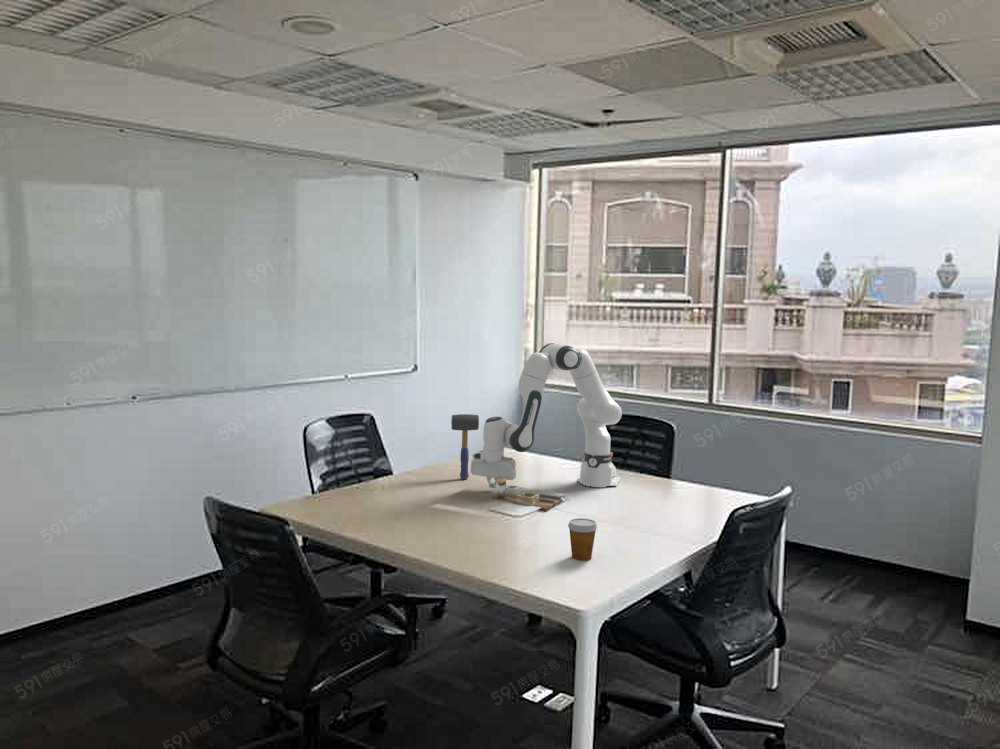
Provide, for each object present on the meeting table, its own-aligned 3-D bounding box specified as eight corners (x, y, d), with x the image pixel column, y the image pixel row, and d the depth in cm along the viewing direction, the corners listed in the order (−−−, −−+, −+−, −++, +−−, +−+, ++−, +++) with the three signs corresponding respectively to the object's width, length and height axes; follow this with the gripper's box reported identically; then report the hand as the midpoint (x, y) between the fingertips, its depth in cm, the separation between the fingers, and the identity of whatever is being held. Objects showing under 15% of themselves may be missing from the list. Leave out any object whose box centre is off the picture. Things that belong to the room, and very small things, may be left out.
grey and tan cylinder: (499, 496, 330) (499, 476, 330) (507, 497, 329) (507, 477, 328) (495, 498, 327) (495, 478, 326) (503, 499, 326) (503, 479, 325)
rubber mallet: (477, 477, 369) (478, 412, 366) (478, 481, 362) (479, 415, 359) (450, 477, 368) (451, 412, 365) (450, 481, 361) (451, 415, 357)
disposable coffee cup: (593, 552, 267) (595, 517, 266) (598, 562, 258) (599, 526, 256) (565, 552, 267) (566, 517, 265) (568, 562, 257) (569, 526, 256)
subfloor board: (505, 493, 341) (506, 488, 340) (562, 502, 329) (562, 496, 328) (488, 502, 327) (488, 496, 326) (546, 511, 315) (546, 505, 314)
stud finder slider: (504, 490, 339) (504, 483, 339) (521, 492, 335) (521, 485, 335) (498, 492, 335) (499, 485, 334) (516, 495, 331) (516, 488, 331)
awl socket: (523, 499, 327) (523, 491, 327) (539, 501, 324) (539, 494, 324) (516, 502, 321) (516, 495, 321) (531, 505, 318) (532, 498, 318)
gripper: (518, 456, 335) (518, 489, 337) (476, 451, 345) (475, 482, 346) (512, 459, 330) (511, 492, 331) (468, 454, 339) (468, 485, 341)
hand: (492, 487), depth 339 cm, fingers closed
